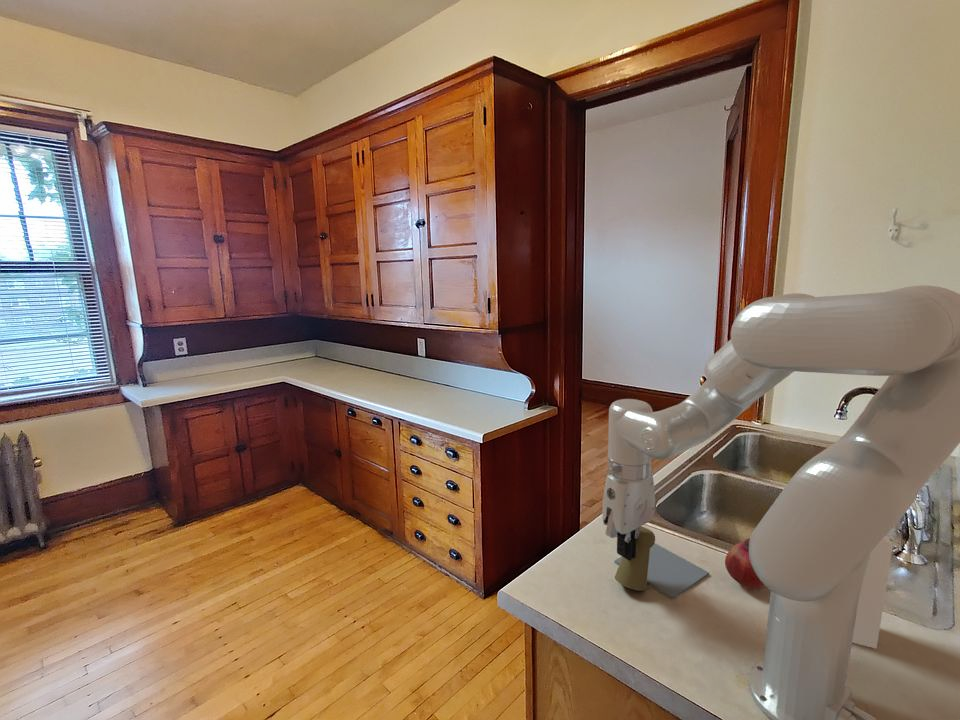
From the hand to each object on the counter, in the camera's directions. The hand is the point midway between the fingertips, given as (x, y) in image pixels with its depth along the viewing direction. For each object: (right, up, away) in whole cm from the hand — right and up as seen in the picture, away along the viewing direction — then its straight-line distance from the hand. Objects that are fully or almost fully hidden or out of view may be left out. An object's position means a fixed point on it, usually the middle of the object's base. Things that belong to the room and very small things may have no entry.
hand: (626, 555), depth 90 cm
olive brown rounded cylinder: (+1, -6, +2) cm, 7 cm away
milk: (+35, -9, -10) cm, 37 cm away
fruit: (+24, -7, +2) cm, 25 cm away
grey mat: (+9, -6, +8) cm, 13 cm away
